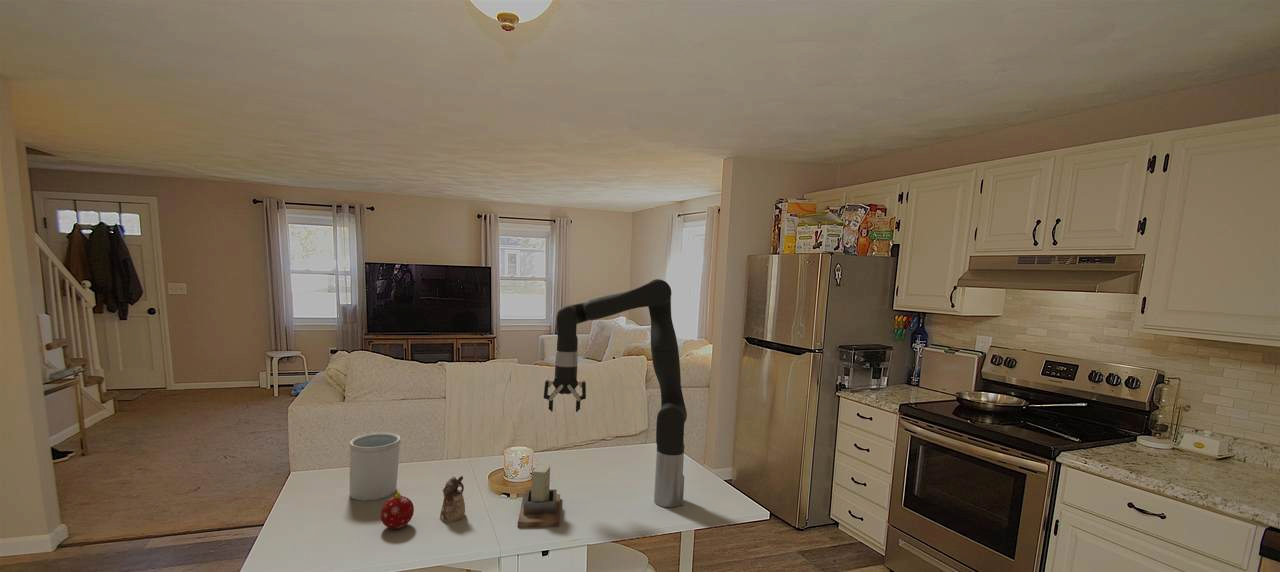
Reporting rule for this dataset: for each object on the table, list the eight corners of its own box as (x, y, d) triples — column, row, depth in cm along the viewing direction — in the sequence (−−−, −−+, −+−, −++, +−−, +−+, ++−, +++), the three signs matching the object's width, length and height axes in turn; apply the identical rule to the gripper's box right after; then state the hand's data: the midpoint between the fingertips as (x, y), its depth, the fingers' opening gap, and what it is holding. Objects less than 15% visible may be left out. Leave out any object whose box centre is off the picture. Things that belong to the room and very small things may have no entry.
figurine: (440, 512, 155) (441, 473, 154) (464, 509, 157) (466, 471, 157) (439, 523, 148) (441, 482, 148) (465, 520, 150) (467, 480, 150)
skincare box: (543, 512, 155) (545, 472, 155) (529, 510, 155) (531, 471, 155) (549, 503, 161) (551, 465, 161) (535, 502, 161) (537, 464, 161)
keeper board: (560, 498, 168) (560, 494, 168) (558, 526, 150) (559, 521, 150) (523, 498, 167) (523, 494, 167) (517, 527, 148) (517, 522, 148)
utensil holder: (396, 498, 162) (399, 444, 162) (343, 504, 157) (346, 448, 156) (399, 481, 176) (402, 431, 176) (351, 485, 170) (353, 434, 170)
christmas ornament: (382, 537, 139) (384, 501, 138) (377, 524, 146) (379, 490, 145) (416, 529, 144) (417, 494, 144) (409, 517, 151) (411, 484, 150)
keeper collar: (556, 500, 164) (556, 489, 163) (555, 514, 154) (556, 502, 154) (526, 500, 162) (526, 489, 162) (523, 514, 153) (523, 503, 153)
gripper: (586, 362, 177) (584, 408, 177) (545, 361, 175) (543, 408, 175) (587, 366, 170) (585, 414, 170) (544, 365, 168) (542, 414, 168)
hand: (564, 411), depth 172 cm, fingers open, 8 cm apart
